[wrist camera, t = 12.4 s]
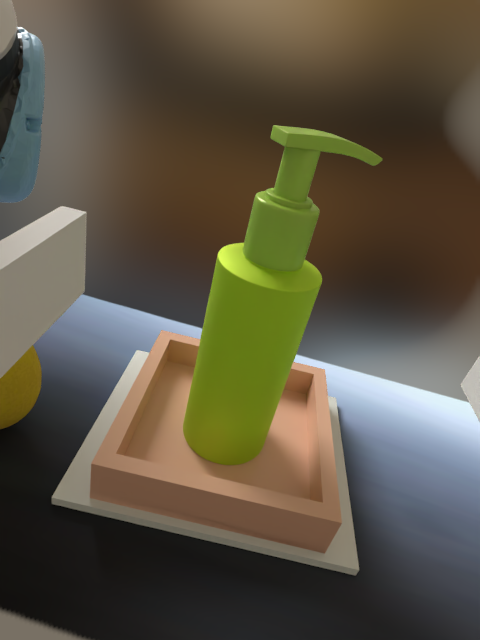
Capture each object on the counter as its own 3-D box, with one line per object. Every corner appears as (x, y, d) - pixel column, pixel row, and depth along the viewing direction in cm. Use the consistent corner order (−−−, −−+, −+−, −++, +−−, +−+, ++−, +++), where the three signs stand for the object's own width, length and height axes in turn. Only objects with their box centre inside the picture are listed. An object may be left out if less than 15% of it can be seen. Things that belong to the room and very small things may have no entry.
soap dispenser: (290, 458, 29) (413, 159, 19) (192, 470, 26) (274, 130, 16) (261, 399, 33) (347, 133, 23) (175, 404, 31) (230, 107, 21)
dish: (89, 498, 24) (91, 463, 22) (157, 358, 36) (161, 330, 35) (324, 553, 24) (341, 523, 23) (314, 396, 36) (324, 369, 35)
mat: (51, 503, 24) (51, 497, 24) (136, 355, 37) (137, 350, 36) (355, 575, 24) (359, 570, 24) (333, 402, 37) (335, 397, 37)
